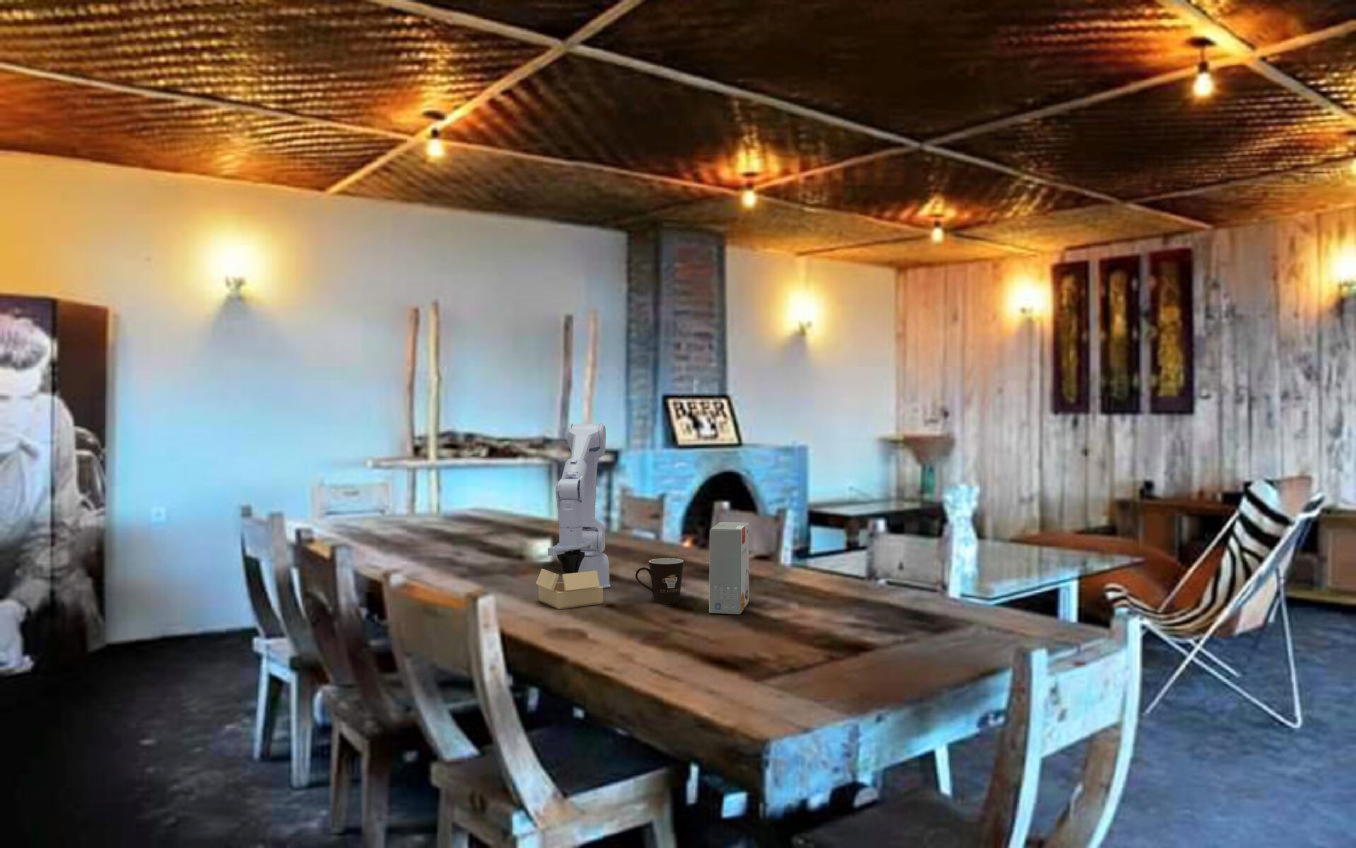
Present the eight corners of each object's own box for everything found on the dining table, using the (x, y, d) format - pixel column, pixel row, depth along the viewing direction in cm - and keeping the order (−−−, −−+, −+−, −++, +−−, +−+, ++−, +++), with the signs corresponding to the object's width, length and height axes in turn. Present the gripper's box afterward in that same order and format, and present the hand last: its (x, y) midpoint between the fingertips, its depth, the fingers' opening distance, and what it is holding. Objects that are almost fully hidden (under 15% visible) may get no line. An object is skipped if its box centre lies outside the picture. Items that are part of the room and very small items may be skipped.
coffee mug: (685, 597, 239) (685, 558, 239) (682, 604, 230) (681, 564, 230) (639, 597, 240) (639, 558, 240) (635, 604, 232) (634, 563, 231)
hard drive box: (741, 615, 218) (740, 529, 218) (708, 614, 220) (708, 529, 219) (749, 601, 234) (749, 521, 233) (719, 600, 235) (718, 520, 235)
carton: (582, 595, 243) (581, 580, 243) (603, 603, 233) (602, 587, 232) (538, 600, 237) (538, 584, 236) (558, 609, 226) (558, 592, 226)
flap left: (595, 571, 232) (596, 570, 232) (598, 587, 231) (599, 586, 230) (561, 575, 228) (563, 574, 227) (564, 591, 226) (566, 590, 226)
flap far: (544, 569, 236) (541, 568, 235) (559, 575, 228) (556, 574, 228) (538, 584, 235) (535, 583, 234) (553, 590, 227) (550, 589, 227)
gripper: (578, 522, 242) (578, 575, 243) (538, 528, 231) (539, 584, 231) (599, 524, 238) (599, 577, 239) (559, 530, 227) (560, 587, 227)
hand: (571, 581), depth 235 cm, fingers closed
